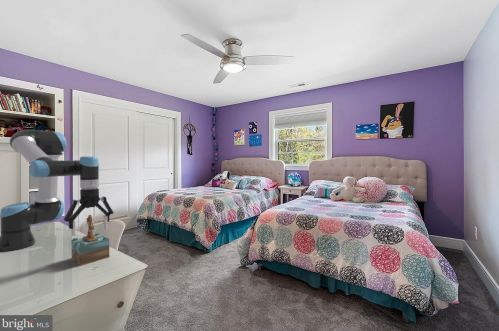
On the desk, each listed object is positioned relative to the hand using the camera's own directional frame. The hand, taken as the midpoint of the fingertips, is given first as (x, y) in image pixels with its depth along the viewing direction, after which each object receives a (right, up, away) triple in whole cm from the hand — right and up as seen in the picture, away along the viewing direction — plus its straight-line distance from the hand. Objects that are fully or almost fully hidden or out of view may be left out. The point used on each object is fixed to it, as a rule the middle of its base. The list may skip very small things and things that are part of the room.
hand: (90, 231), depth 114 cm
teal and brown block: (0, -13, 0) cm, 13 cm away
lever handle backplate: (0, -4, 0) cm, 4 cm away
